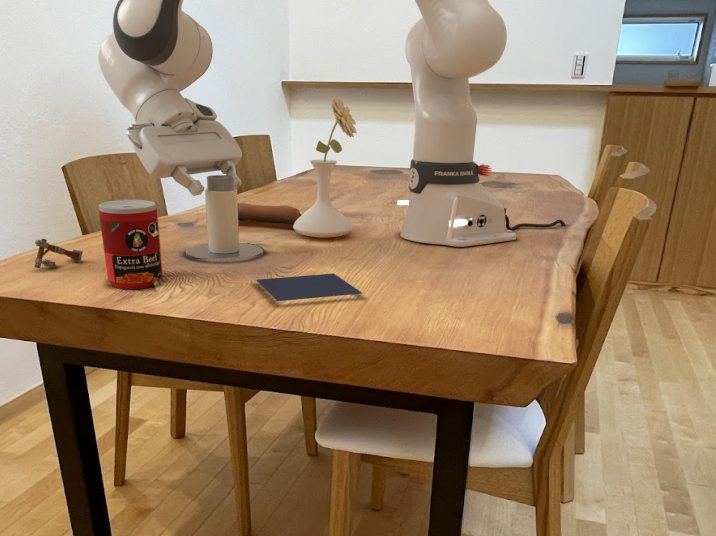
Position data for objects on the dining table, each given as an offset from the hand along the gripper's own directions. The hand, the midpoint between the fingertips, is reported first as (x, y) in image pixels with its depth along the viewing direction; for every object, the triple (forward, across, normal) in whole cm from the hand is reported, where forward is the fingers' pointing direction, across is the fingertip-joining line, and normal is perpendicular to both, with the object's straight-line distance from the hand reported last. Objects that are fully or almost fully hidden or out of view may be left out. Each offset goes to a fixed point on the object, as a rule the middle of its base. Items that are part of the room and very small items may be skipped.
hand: (218, 189), depth 108 cm
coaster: (+8, 0, +7) cm, 11 cm away
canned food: (+9, -21, +6) cm, 24 cm away
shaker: (+7, 0, +7) cm, 10 cm away
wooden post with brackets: (-3, -21, +18) cm, 28 cm away
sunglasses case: (+1, +26, +14) cm, 30 cm away
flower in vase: (+12, +24, +3) cm, 27 cm away
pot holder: (+25, -11, -10) cm, 29 cm away
